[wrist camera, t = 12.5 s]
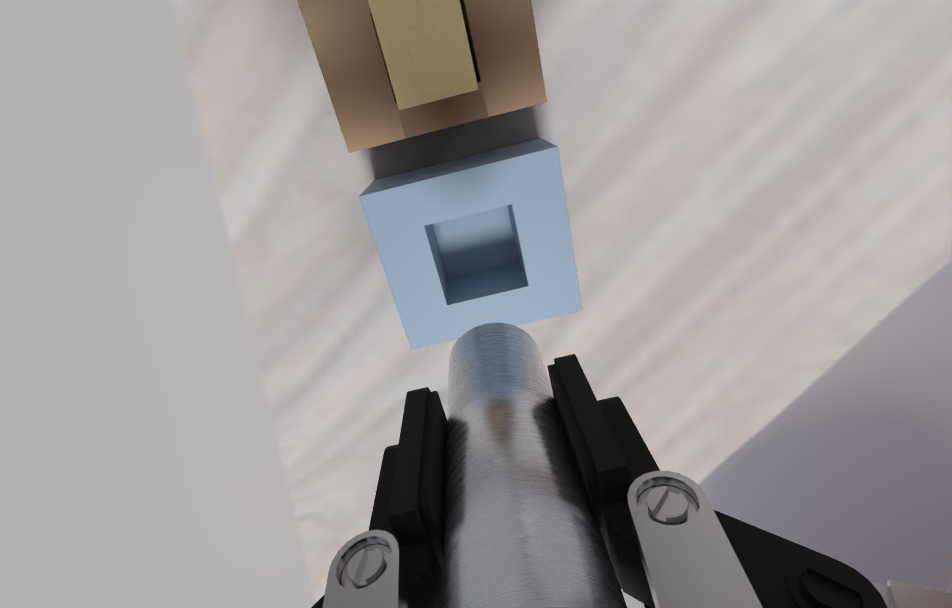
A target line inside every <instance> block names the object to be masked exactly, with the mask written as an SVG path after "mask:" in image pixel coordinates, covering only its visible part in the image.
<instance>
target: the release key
mask: <svg viewBox="0 0 952 608" xmlns="http://www.w3.org/2000/svg"><path fill="white" fill-rule="evenodd" d="M368 2H369V6H370V9H371V13H372V16H373V20H374V23H375V27H376V30H377V34H378V38H379V41H380V45H381V48H382V52H383V55H384V59H385V62H386V66H387V69H388V73H389V76H390V80H391V83H392V87H393V90H394V94H395V97H396V101H397V105H398V108H399V110H402V109H406V108H410V107H414V106H418V105H421V104H425V103H429V102H433V101H437V100H440V99H444V98H448V97H452V96H456V95H460V94H463V93H467V92H471V91H475V90H478V85H477V80H476V75H475V71H474V66H473V61H472V57H471V52H470V47H469V42H468V38H467V33H466V28H465V24H464V19H463V14H462V10H461V5H460V0H368Z"/></svg>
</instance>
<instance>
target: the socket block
mask: <svg viewBox="0 0 952 608" xmlns="http://www.w3.org/2000/svg"><path fill="white" fill-rule="evenodd" d="M298 3H299V6H300V9H301V12H302V15H303V18H304V21H305V24H306V27H307V30H308V33H309V36H310V39H311V42H312V45H313V48H314V51H315V54H316V56H317V59H318V62H319V65H320V68H321V71H322V74H323V77H324V80H325V83H326V86H327V89H328V92H329V95H330V98H331V101H332V104H333V107H334V110H335V113H336V116H337V119H338V121H339V124H340V127H341V130H342V133H343V136H344V139H345V142H346V145H347V148H348V151H349V153H352V152H356V151H359V150H363V149H367V148H371V147H375V146H379V145H383V144H387V143H390V142H394V141H398V140H402V139H406V138H410V137H414V136H418V135H422V134H425V133H429V132H433V131H437V130H441V129H445V128H449V127H453V126H457V125H460V124H464V123H468V122H472V121H476V120H480V119H484V118H488V117H491V116H495V115H499V114H503V113H507V112H511V111H515V110H519V109H523V108H526V107H530V106H534V105H538V104H542V103H546V102H547V100H546V93H545V87H544V80H543V74H542V68H541V61H540V55H539V48H538V42H537V36H536V29H535V23H534V17H533V10H532V4H531V0H460V5H461V10H462V14H463V19H464V24H465V28H466V33H467V38H468V42H469V47H470V52H471V57H472V61H473V66H474V71H475V75H476V80H477V85H478V90H475V91H471V92H467V93H463V94H460V95H456V96H452V97H448V98H444V99H440V100H437V101H433V102H429V103H425V104H421V105H418V106H414V107H410V108H406V109H402V110H399V108H398V105H397V101H396V97H395V94H394V90H393V87H392V83H391V80H390V76H389V73H388V69H387V66H386V62H385V59H384V55H383V52H382V48H381V45H380V41H379V38H378V34H377V30H376V27H375V23H374V20H373V16H372V13H371V9H370V6H369V2H368V0H298Z"/></svg>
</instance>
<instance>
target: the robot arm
mask: <svg viewBox="0 0 952 608" xmlns="http://www.w3.org/2000/svg"><path fill="white" fill-rule="evenodd" d="M554 362H555V364H553V365H549V366H548V371H549V376H550V381H551V386H552V391H553V396H554V400H555V403H556V406H557V409H558V412H559V415H560V418H561V421H562V423H563V426H564V429H565V432H566V435H567V438H568V441H569V444H570V447H571V450H572V453H573V456H574V459H575V462H576V465H577V468H578V471H579V474H580V477H581V480H582V483H583V486H584V489H585V492H586V495H587V498H588V501H589V504H590V507H591V509H592V512H593V515H594V517H595V518H596V520H597V522H598V524H599V527H600V530H601V533H602V536H603V539H604V542H605V545H606V548H607V550H608V553H609V556H610V559H611V562H612V565H613V568H614V571H615V574H616V577H617V580H618V583H619V585H620V588H621V589H623V591H624V592H625V593H627V594H629V595H630V596H632V597H634V598H635V599H637V600H639V601H641V602H642V608H952V593H950V592H945V591H941V590H936V589H931V588H926V587H922V586H917V585H912V584H908V583H903V582H898V581H894V580H888V583H887V586H886V585H881V584H876V583H872V582H870V581H869V580H868V579H867V578H865V577H864V576H863V575H861V574H860V573H859V572H858V571H856V570H855V569H853V568H852V567H850V566H848V565H846V564H844V563H842V562H840V561H838V560H835V559H833V558H831V557H828V556H826V555H823V554H821V553H818V552H816V551H814V550H811V549H808V548H806V547H804V546H801V545H799V544H796V543H794V542H791V541H789V540H786V539H784V538H782V537H779V536H777V535H774V534H772V533H769V532H767V531H764V530H762V529H759V528H757V527H755V526H752V525H750V524H747V523H745V522H742V521H740V520H737V519H735V518H733V517H730V516H728V515H725V514H723V513H720V512H718V511H715V510H713V508H712V506H711V504H710V502H709V500H708V499H707V496H706V494H705V493H704V492H703V490H702V489H701V487H700V486H699V485H698V484H697V483H695V482H694V481H693V480H691V479H690V478H688V477H686V476H684V475H682V474H679V473H675V472H670V471H660V470H659V468H658V466H657V464H656V462H655V461H654V459H653V457H652V455H651V453H650V451H649V450H648V448H647V446H646V444H645V442H644V441H643V439H642V437H641V435H640V433H639V432H638V430H637V428H636V426H635V424H634V423H633V421H632V419H631V417H630V415H629V413H628V412H627V410H626V408H625V406H624V404H623V403H622V401H621V399H620V398H619V397H618V396H617V397H612V398H608V399H603V400H599V401H597V400H596V398H595V395H594V393H593V391H592V389H591V387H590V385H589V383H588V381H587V378H586V376H585V374H584V372H583V370H582V368H581V366H580V364H579V362H578V359H577V357H576V355H575V354H573V355H568V356H564V357H559V358H555V359H554ZM446 449H447V419H446V416H445V413H444V410H443V407H442V404H441V401H440V397H439V395H438V392H437V391H433V392H430V390H429V388H428V387H426V388H422V389H417V390H413V391H409V392H407V395H406V402H405V408H404V414H403V420H402V427H401V433H400V439H399V444H398V445H393V446H389V447H387V448H386V449H385V452H384V455H383V460H382V465H381V471H380V476H379V481H378V486H377V491H376V496H375V501H374V506H373V511H372V516H371V521H370V526H369V531H366V532H364V533H361V534H359V535H357V536H355V537H354V538H352V539H351V540H349V541H348V542H347V543H346V544H345V545H344V546H343V547H342V548H341V549H340V550H339V551H338V553H337V554H336V556H335V557H334V559H333V561H332V563H331V566H330V569H329V573H328V579H327V585H326V591H325V595H324V596H323V597H322V598H321V599H320V600H319V601H318V602H317V603H316V604H315V605H314V606H313V607H312V608H441V600H442V569H443V544H444V512H445V481H446Z"/></svg>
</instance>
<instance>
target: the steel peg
mask: <svg viewBox="0 0 952 608" xmlns="http://www.w3.org/2000/svg"><path fill="white" fill-rule="evenodd" d="M441 608H627V606H626V603H625V600H624V597H623V594H622V591H621V588H620V585H619V583H618V580H617V577H616V574H615V571H614V568H613V565H612V562H611V559H610V556H609V553H608V550H607V548H606V545H605V542H604V539H603V536H602V533H601V530H600V527H599V524H598V522H597V520H596V518H595V517H594V515H593V512H592V509H591V507H590V504H589V501H588V498H587V495H586V492H585V489H584V486H583V483H582V480H581V477H580V474H579V471H578V468H577V465H576V462H575V459H574V456H573V453H572V450H571V447H570V444H569V441H568V438H567V435H566V432H565V429H564V426H563V423H562V421H561V418H560V415H559V412H558V409H557V406H556V403H555V400H554V396H553V391H552V387H551V384H550V381H549V378H548V375H547V372H546V370H545V367H544V364H543V361H542V358H541V355H540V352H539V349H538V347H537V345H536V343H535V341H534V340H533V339H532V338H531V336H530V335H529V334H527V333H526V332H525V331H523V330H522V329H520V328H518V327H516V326H514V325H510V324H506V323H487V324H483V325H479V326H477V327H474V328H472V329H471V330H469V331H467V332H466V333H465V334H463V335H462V336H461V337H460V338H459V340H458V341H457V342H456V343H455V345H454V347H453V349H452V351H451V354H450V359H449V383H448V414H447V449H446V481H445V512H444V544H443V569H442V600H441Z"/></svg>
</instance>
